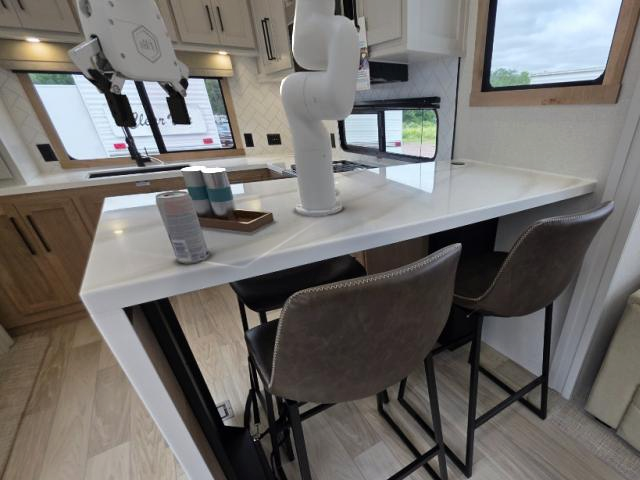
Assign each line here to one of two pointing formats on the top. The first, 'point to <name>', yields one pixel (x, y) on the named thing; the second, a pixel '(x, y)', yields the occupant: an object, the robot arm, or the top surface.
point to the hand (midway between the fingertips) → (156, 125)
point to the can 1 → (198, 191)
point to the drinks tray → (240, 221)
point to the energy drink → (182, 226)
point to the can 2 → (220, 194)
